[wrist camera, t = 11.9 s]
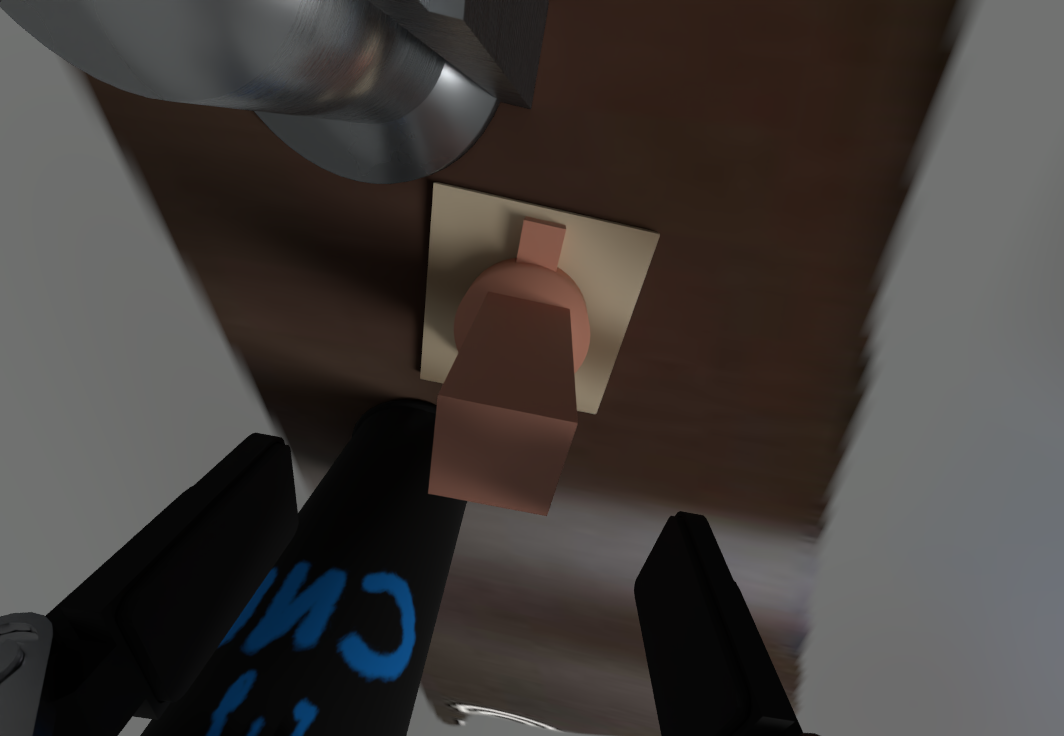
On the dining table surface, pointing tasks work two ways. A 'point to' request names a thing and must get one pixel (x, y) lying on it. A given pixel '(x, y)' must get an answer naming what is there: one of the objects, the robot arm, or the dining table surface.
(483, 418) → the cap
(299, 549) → the aerosol can
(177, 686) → the robot arm
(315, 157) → the column on round base
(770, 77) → the dining table surface
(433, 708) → the dining table surface
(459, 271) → the mat
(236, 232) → the dining table surface
